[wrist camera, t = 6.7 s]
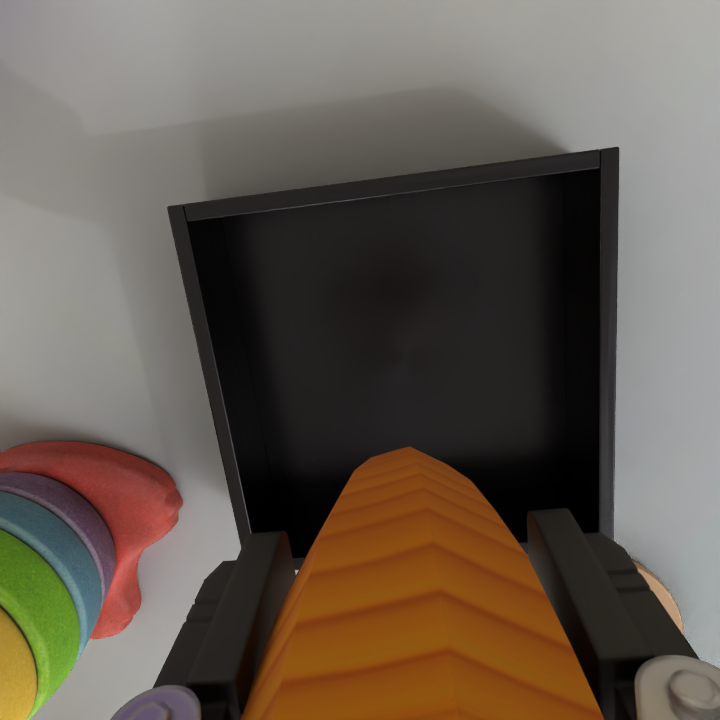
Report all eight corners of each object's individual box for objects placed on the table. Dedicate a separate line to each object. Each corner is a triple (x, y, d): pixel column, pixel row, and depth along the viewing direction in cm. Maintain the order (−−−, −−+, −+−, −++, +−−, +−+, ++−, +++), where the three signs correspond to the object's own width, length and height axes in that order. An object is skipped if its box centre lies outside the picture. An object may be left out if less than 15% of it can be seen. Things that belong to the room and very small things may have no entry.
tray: (268, 517, 27) (246, 574, 23) (206, 204, 22) (166, 206, 18) (578, 493, 25) (614, 549, 21) (576, 156, 21) (620, 146, 17)
